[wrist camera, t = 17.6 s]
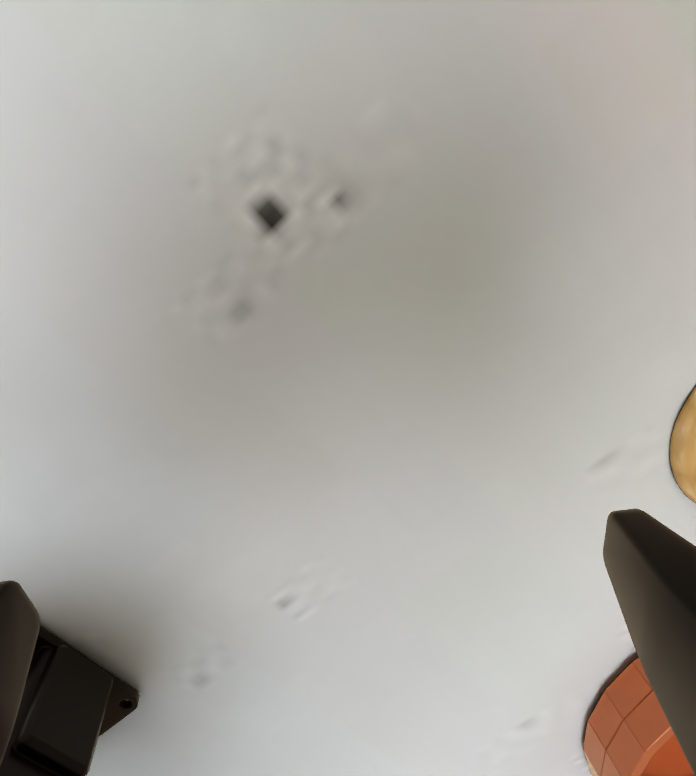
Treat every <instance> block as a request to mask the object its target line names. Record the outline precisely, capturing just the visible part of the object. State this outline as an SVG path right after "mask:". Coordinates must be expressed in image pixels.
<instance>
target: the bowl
mask: <svg viewBox="0 0 696 776" xmlns="http://www.w3.org/2000/svg"><path fill="white" fill-rule="evenodd" d="M583 748H584V753H585V756H586V759H587V763H588V766H589V770H590V772H591V774H592V776H694V774H693V772H692V769H691V767H690V765H689V763H688V761H687V759H686V757H685V755H684V753H683V751H682V749H681V747H680V745H679V743H678V741H677V739H676V736H675V734H674V732H673V730H672V728H671V726H670V724H669V722H668V720H667V718H666V716H665V714H664V712H663V710H662V708H661V706H660V704H659V701H658V699H657V697H656V695H655V693H654V691H653V689H652V687H651V685H650V683H649V681H648V678H647V676H646V674H645V672H644V670H643V667H642V665H641V662H640V660H639V658H637V659H636V660H634V661H633V663H631V664H630V665H629V666H628V667H627V668H626V669H625V670H624V671H623V672H622V673H621V674H620V675H619V676H618V677H617V678H616V679H615V680H614V681H613V682H612V683H611V684H610V685H609V687H608V688H607V689H606V690H605V692H604V693H603V695H602V696H601V698H600V700H599V702H598V704H597V705H596V707H595V709H594V711H593V713H592V714H591V716H590V718H589V720H588V722H587V728H586V734H585V740H584V746H583Z"/></svg>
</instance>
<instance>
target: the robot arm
mask: <svg viewBox="0 0 696 776" xmlns="http://www.w3.org/2000/svg"><path fill="white" fill-rule="evenodd" d="M603 556H604V562H605V566H606V569H607V572H608V574H609V577H610V580H611V583H612V585H613V588H614V591H615V594H616V597H617V599H618V602H619V605H620V608H621V610H622V613H623V616H624V619H625V622H626V624H627V627H628V630H629V633H630V635H631V638H632V641H633V644H634V647H635V649H636V652H637V655H638V657H639V660H640V662H641V665H642V667H643V670H644V672H645V674H646V676H647V678H648V681H649V683H650V685H651V687H652V689H653V691H654V693H655V695H656V697H657V699H658V701H659V704H660V706H661V708H662V710H663V712H664V714H665V716H666V718H667V720H668V722H669V724H670V726H671V728H672V730H673V732H674V734H675V736H676V739H677V741H678V743H679V745H680V747H681V749H682V751H683V753H684V755H685V757H686V759H687V761H688V763H689V765H690V767H691V769H692V772H693V774H694V776H696V546H694V545H693V544H691V543H690V542H688V541H687V540H685V539H684V538H682V537H681V536H679V535H678V534H676V533H675V532H673V531H672V530H671V529H669V528H668V527H666V526H665V525H663V524H662V523H660V522H659V521H657V520H656V519H654V518H653V517H651V516H650V515H648V514H647V513H646V512H644V511H642V510H639V509H628V510H620V511H613V512H611V513H610V514H609V516H608V519H607V526H606V533H605V540H604V548H603ZM139 696H140V695H139V692H138V691H137V690H136V689H134V688H133V687H131V686H130V685H128V684H127V683H125V682H124V681H122V680H121V679H119V678H118V677H116V676H115V675H113V674H112V673H110V672H109V671H107V670H106V669H104V668H103V667H101V666H100V665H98V664H97V663H95V662H94V661H92V660H91V659H89V658H88V657H86V656H85V655H83V654H82V653H80V652H79V651H77V650H76V649H74V648H73V647H71V646H70V645H68V644H67V643H65V642H64V641H62V640H61V639H59V638H58V637H56V636H55V635H53V634H52V633H50V632H49V631H47V630H46V629H44V628H43V627H41V626H40V617H39V613H38V611H37V610H36V608H35V607H34V605H33V604H32V602H31V601H30V599H29V598H28V596H27V595H26V593H25V592H24V590H23V589H22V587H21V586H20V584H19V583H17V582H15V581H2V582H0V776H86V775H87V773H88V772H89V769H90V765H91V762H92V758H93V754H94V751H95V747H96V743H97V740H98V737H99V736H100V735H102V734H103V733H104V732H106V731H107V730H108V729H110V728H111V727H112V726H114V725H115V724H116V723H118V722H119V721H120V720H122V719H123V718H124V717H126V716H127V715H128V714H130V713H131V712H132V711H134V710H135V709H136V708H137V705H138V701H139Z"/></svg>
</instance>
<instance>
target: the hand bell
mask: <svg viewBox="0 0 696 776" xmlns="http://www.w3.org/2000/svg"><path fill="white" fill-rule="evenodd" d="M670 461H671V467H672V471H673V474H674V477H675V480H676V482H677V484H678V485H679V487H680V489H681V490H682V491H683V493H684V494H685V495H686V496H687V497H688V498H690V499H691V500H692V501H693V502H695V503H696V387H695V389H694V390H693V392H692V393H691V395H690V396H689V398H688V399H687V401H686V402H685V404H684V406H683V408H682V409H681V412H680V414H679V416H678V418H677V420H676V423H675V426H674V430H673V433H672V437H671V444H670Z"/></svg>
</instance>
